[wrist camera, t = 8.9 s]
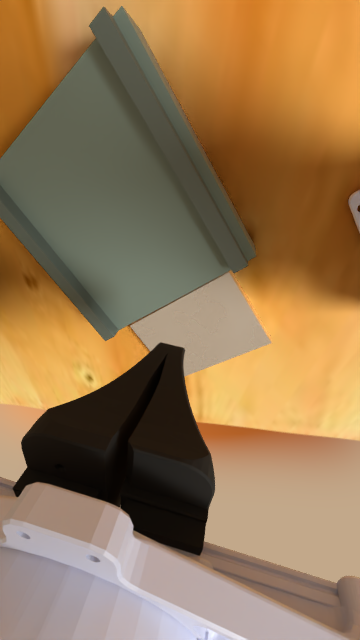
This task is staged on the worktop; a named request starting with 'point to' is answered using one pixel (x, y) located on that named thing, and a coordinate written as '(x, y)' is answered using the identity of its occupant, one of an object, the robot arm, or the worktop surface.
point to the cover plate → (206, 324)
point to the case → (119, 187)
